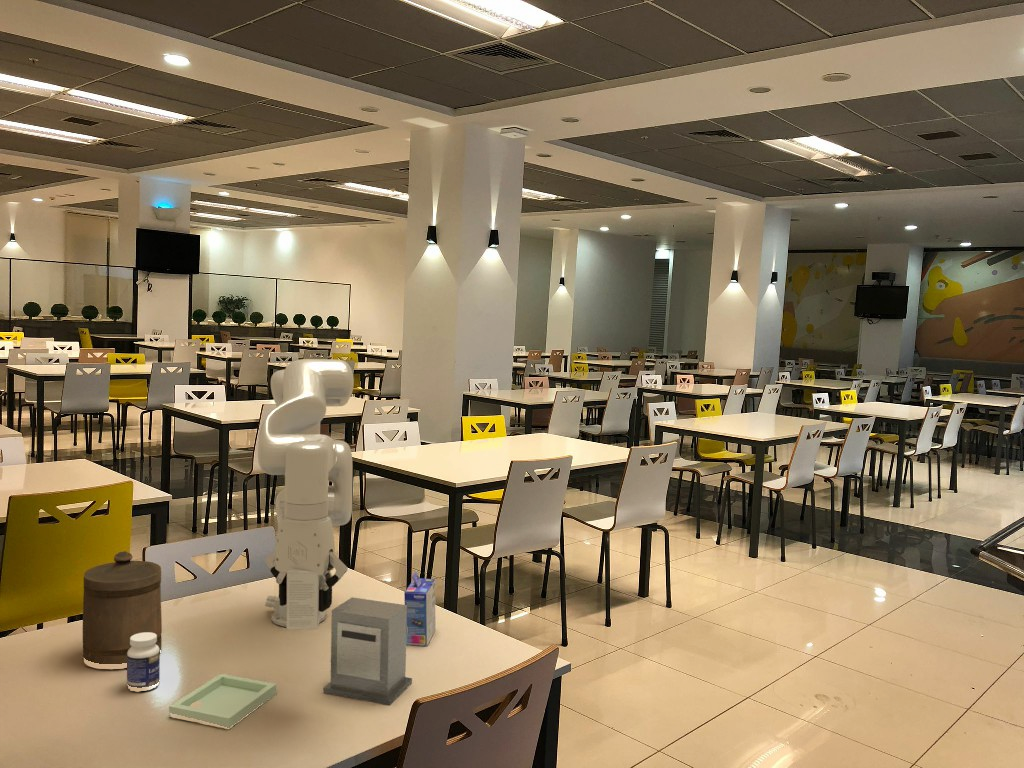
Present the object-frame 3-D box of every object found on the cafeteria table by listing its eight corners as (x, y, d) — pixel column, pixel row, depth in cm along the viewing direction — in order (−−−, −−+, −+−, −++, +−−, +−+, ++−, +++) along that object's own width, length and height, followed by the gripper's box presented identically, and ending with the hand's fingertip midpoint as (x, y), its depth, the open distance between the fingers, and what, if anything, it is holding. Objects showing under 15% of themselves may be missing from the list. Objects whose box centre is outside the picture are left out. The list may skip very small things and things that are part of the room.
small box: (293, 613, 153) (293, 557, 152) (323, 613, 154) (324, 558, 153) (285, 629, 145) (285, 571, 145) (317, 629, 146) (318, 571, 145)
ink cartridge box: (412, 628, 192) (413, 567, 190) (435, 630, 191) (437, 568, 190) (402, 645, 182) (404, 580, 181) (427, 646, 181) (428, 582, 180)
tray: (169, 717, 146) (169, 706, 146) (220, 684, 160) (220, 673, 160) (229, 730, 143) (229, 718, 143) (276, 694, 156) (276, 683, 156)
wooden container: (167, 640, 180) (167, 541, 179) (153, 668, 166) (153, 561, 164) (94, 644, 177) (93, 543, 175) (73, 673, 163) (71, 564, 161)
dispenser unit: (323, 692, 158) (324, 611, 156) (348, 672, 167) (349, 595, 166) (389, 705, 154) (391, 621, 152) (411, 683, 163) (413, 604, 162)
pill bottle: (155, 692, 156) (155, 641, 155) (123, 694, 155) (122, 642, 154) (163, 679, 161) (162, 630, 160) (132, 680, 160) (131, 631, 160)
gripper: (252, 510, 147) (251, 606, 148) (339, 520, 142) (338, 620, 143) (275, 501, 154) (274, 593, 156) (359, 510, 149) (358, 606, 151)
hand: (305, 605), depth 149 cm, fingers closed on small box, 7 cm apart
